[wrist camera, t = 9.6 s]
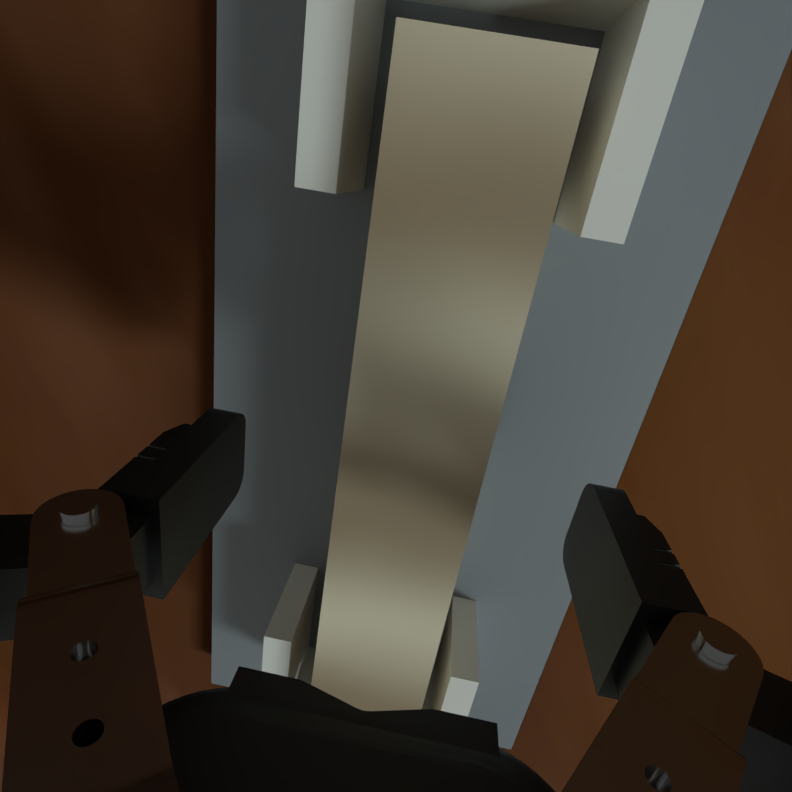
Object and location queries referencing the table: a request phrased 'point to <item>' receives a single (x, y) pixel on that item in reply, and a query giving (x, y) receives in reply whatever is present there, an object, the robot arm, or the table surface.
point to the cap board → (545, 325)
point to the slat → (438, 335)
